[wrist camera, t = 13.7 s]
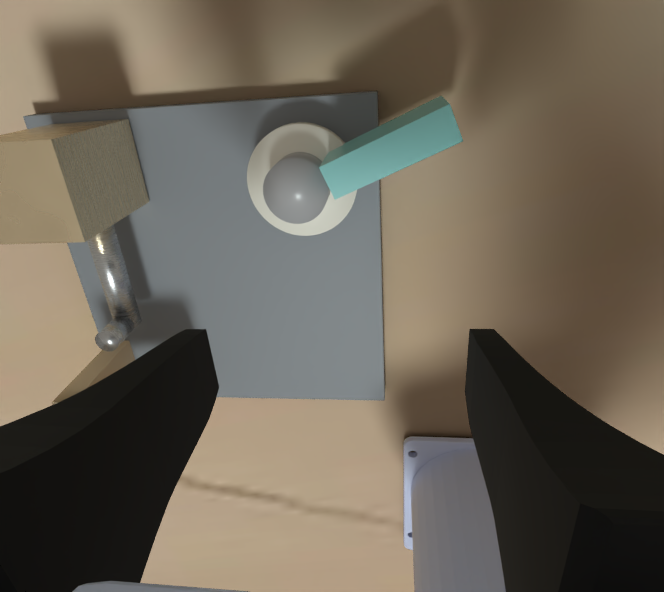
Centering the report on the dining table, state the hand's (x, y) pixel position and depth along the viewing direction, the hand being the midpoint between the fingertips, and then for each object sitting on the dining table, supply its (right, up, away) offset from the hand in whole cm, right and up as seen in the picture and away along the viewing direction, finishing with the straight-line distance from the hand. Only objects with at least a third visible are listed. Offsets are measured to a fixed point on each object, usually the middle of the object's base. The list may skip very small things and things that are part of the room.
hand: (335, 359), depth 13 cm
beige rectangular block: (-10, +5, +9) cm, 14 cm away
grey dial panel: (-5, +3, +10) cm, 12 cm away
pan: (0, +7, +6) cm, 9 cm away
